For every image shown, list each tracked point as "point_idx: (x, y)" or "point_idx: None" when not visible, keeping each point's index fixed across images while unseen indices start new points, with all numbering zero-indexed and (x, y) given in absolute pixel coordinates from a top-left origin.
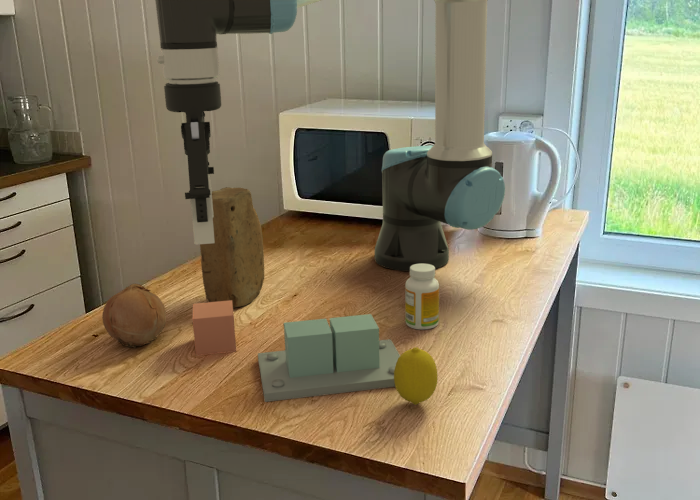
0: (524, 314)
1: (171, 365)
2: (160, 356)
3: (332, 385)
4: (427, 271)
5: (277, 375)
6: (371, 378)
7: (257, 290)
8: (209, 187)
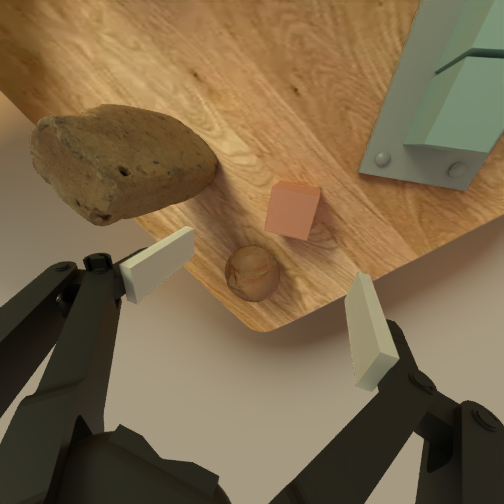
0: None
1: (318, 248)
2: (295, 252)
3: None
4: None
5: (432, 164)
6: None
7: (192, 131)
8: (152, 257)
